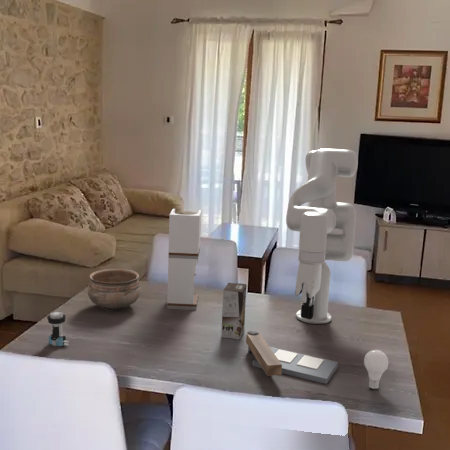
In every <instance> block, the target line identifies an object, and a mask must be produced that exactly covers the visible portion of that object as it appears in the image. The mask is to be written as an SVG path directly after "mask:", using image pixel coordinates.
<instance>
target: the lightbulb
mask: <svg viewBox="0 0 450 450" xmlns="http://www.w3.org/2000/svg"><path fill="white" fill-rule="evenodd" d="M363 364H364V367H365V369H366V370H367V371H366V372H367V374H368V380H369V381H368V387H369V388H370V389H371V390H376V389H379V388H380V387H379V385H380V379H381V378H382V375H383V374H384V373H385V372H386V371H387V369H388V367H389V358H388V356H387V354H386V353H384V352H383V351H382V350H379V349H372V350H369V351H368V352H367V353H366V354H365V356H364V359H363Z"/></svg>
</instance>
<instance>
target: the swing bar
mask: <svg viewBox="0 0 450 450" xmlns="http://www.w3.org/2000/svg"><path fill="white" fill-rule="evenodd" d="M245 341H246V342H245V344H246V345H247V347H248V346H249V348H250V350H251V351H252V353H251V354H252V355H253V356H254V359H255V358H256V359H257V361H258V362H259V364H260V365H261V367H262V368H261V369H262V371H263V372H264V373H265V375H266V376H267V377H269V376H270V377H271V376H282V373H281V372H282V364H281V363H280V361H279V360H278V358H277V357H276V356H275V354H274V353H273V351H272V350H271V349H270V347H271V346H269V344H268V343H267V341H266V340H265V339H264V337H263V336H262V335H261V333H260V332H258V331H255V330H249V331H247V332H246V337H245Z"/></svg>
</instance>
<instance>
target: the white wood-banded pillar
mask: <svg viewBox="0 0 450 450" xmlns="http://www.w3.org/2000/svg"><path fill="white" fill-rule="evenodd" d="M168 215H169V219H168V222H169V223H168V224H169V225H168V227H169V228H168V256H167V257H168V261H167V262H168V264H167V265H168V267H167V269H168V270H167V305H166V307H167V309H171V310H173V309H174V310H189V311H190V310H191V311H197V308H198V303H199V294H198V293H197V294H196V293H195V276H196V275H197V264H198V263H199V261H200V255H201V233H202V232H201V231H202V210H201V209H199V210H198V212H197V213H195V214H181V213H176V208H172V210H171V211H170V213H169V214H168Z"/></svg>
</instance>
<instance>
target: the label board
mask: <svg viewBox="0 0 450 450" xmlns="http://www.w3.org/2000/svg"><path fill="white" fill-rule="evenodd" d="M269 347H270V349H271V350H272V351H273V353H274V354H275V356H276V357H277V358H278V360H279V361H280V363H281V364H282V372H281V374H285V375H288V376H293V377H297V378H301V379H305V380H309V381H313V382H317V383H320V384H325V385H327V384H328V383H329V381H330V380H331V378H332V376H333V375H334V373H335V372H336V370H337V369H338V365H339V362H338V361H333V360H329V359H326V358H325V359H324V358H320V357H316V356H313V355H312V356H311V355H308V354H302V353H299V352H295V351H291V350H286V349H282V348H277V347H273V346H269ZM252 366H253V367H255V368H256V367H257V368H260V369H262V367H261V365H260V364H259V362H258V361H257V359H256V358H255V357H254V359H253V360H252Z"/></svg>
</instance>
